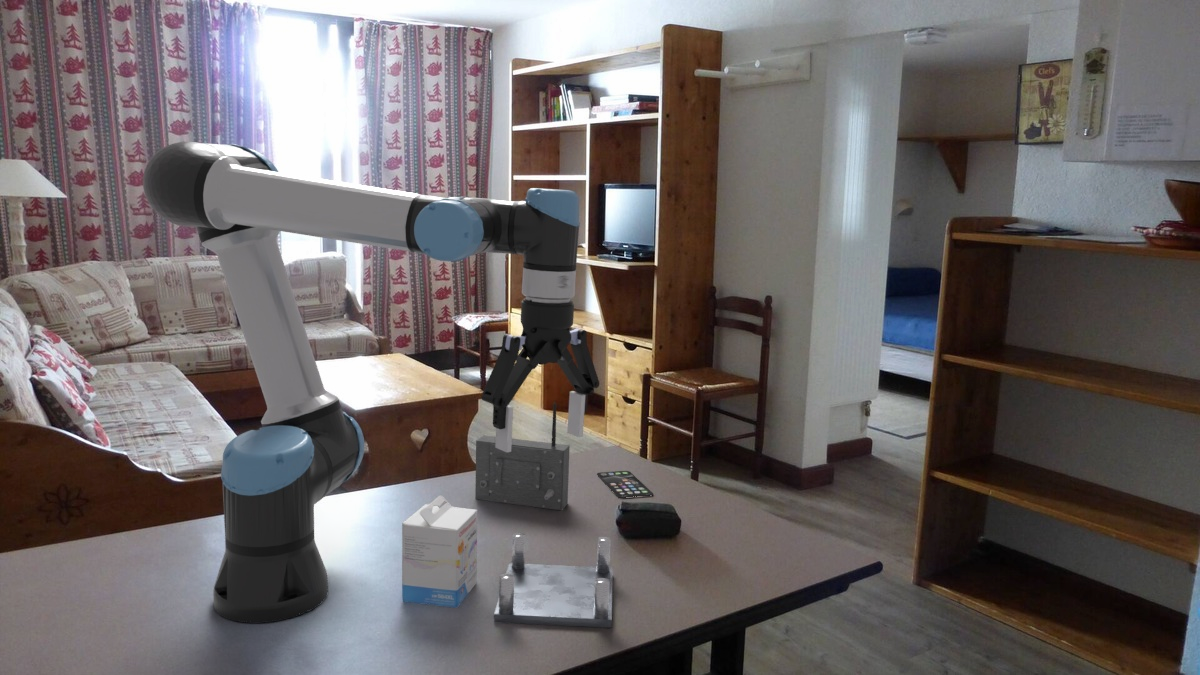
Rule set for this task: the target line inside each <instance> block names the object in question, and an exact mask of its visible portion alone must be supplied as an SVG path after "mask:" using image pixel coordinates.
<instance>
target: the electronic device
mask: <svg viewBox="0 0 1200 675" xmlns="http://www.w3.org/2000/svg"><path fill="white" fill-rule="evenodd" d="M552 407H553V408H552V429H551V436H552V438H551V442H545V441H544V442H543V441H538V440H537V441H535V440H527V439H519V438H518V439H517V438H512V445H511V452H504V451H502V450H500V449H498V448H495V444H496V436H491V435H482V436H481V437H479V438H477V440H476V442H475V489H474V490H475V491H474V492H475V496H474V498H475V500H483V501H488V502H497V503H505V504H511V505H520V506H525V507H526V506H527V507H533V508H542V509H550V510H557V511H563V510H564V509H565V508H566V506H567V505H568V504H567V503H568V501H569V500H568V499H569V476H570V475H569V474H570V471H569V469H570V446H571V445H570V444H564V443H562V444H561V443H556V439H557V438H556V437H557V403H556V402H553V404H552Z"/></svg>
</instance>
